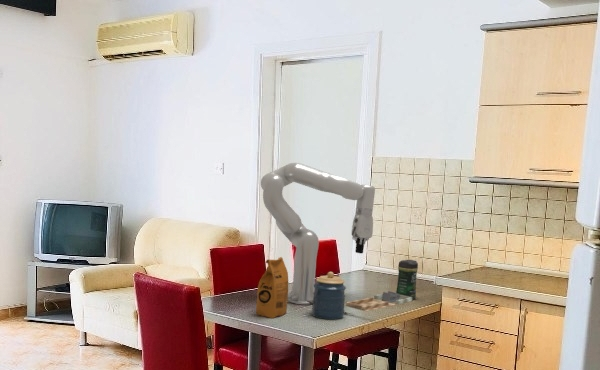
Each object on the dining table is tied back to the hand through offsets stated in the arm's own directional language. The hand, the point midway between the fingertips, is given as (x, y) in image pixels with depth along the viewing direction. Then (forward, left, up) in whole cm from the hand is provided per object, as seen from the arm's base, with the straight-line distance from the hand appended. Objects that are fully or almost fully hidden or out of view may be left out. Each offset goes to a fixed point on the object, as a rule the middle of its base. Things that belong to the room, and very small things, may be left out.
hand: (359, 252), depth 251 cm
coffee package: (-48, +5, -22) cm, 53 cm away
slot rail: (+3, -11, -22) cm, 25 cm away
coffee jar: (+28, -9, -22) cm, 37 cm away
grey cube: (+13, -11, -21) cm, 27 cm away
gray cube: (+9, -11, -21) cm, 26 cm away
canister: (-30, -9, -22) cm, 39 cm away
